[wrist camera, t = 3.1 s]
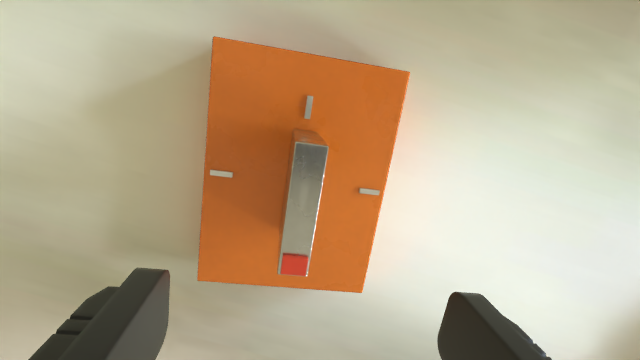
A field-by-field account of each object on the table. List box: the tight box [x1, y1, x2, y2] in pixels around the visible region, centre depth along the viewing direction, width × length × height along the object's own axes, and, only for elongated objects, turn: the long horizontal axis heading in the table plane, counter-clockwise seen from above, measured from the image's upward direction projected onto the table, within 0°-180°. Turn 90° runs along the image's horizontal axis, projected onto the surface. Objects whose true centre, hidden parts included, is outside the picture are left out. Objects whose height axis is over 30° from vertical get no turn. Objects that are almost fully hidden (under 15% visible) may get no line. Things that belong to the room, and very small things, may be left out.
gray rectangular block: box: [277, 128, 329, 277], centre depth 18 cm, size 7×2×6 cm, turn 171°
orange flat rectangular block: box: [197, 37, 410, 293], centre depth 22 cm, size 16×12×3 cm
